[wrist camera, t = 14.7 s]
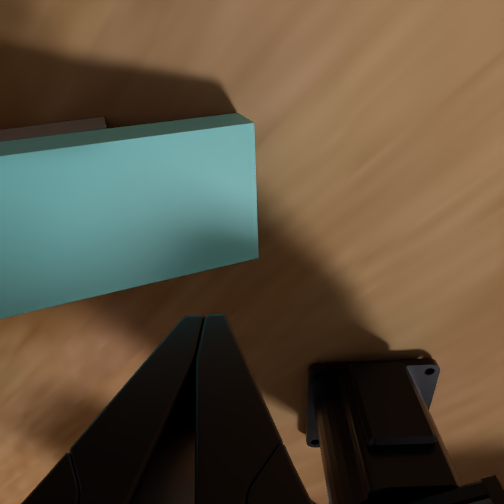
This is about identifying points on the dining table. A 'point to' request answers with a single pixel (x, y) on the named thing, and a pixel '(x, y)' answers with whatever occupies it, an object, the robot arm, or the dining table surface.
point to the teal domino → (124, 208)
